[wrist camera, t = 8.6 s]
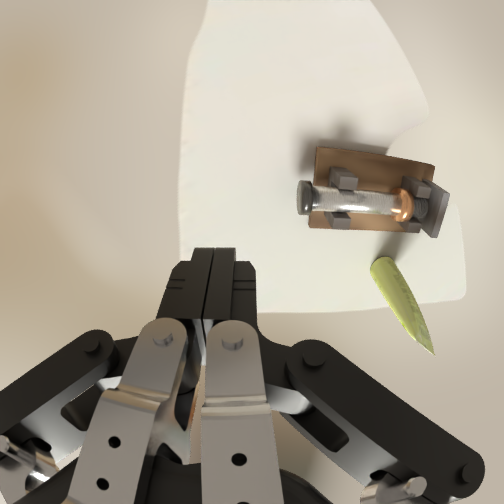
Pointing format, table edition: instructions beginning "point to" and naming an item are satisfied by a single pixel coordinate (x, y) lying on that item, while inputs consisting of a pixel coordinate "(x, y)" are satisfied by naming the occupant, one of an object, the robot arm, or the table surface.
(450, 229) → the table surface
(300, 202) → the shaft
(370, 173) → the bearing board
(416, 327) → the tube
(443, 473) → the robot arm
